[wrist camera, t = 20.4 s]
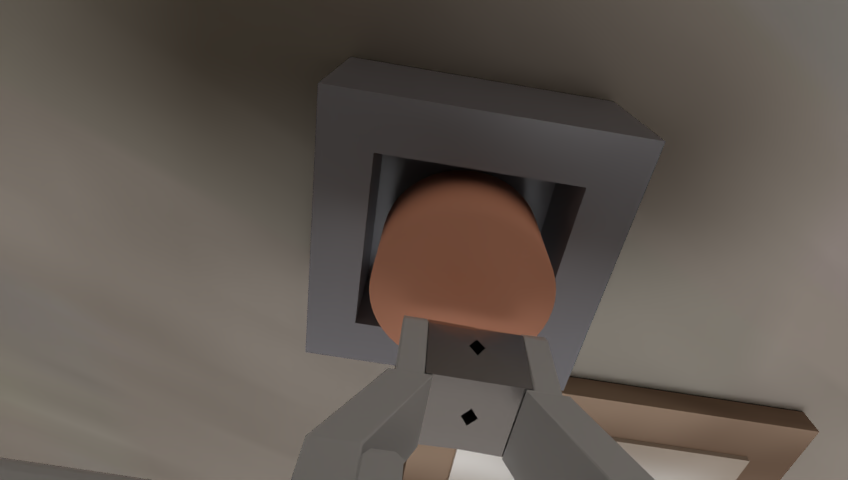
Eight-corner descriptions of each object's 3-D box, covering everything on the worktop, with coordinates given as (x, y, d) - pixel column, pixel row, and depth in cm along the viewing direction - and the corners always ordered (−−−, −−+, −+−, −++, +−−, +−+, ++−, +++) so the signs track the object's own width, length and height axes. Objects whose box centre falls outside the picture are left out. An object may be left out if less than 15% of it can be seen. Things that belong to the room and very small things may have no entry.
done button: (392, 157, 13) (380, 197, 10) (557, 184, 13) (580, 230, 10) (374, 294, 15) (361, 352, 12) (516, 316, 15) (528, 377, 13)
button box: (350, 56, 14) (317, 82, 11) (613, 101, 15) (665, 141, 11) (333, 279, 18) (305, 352, 15) (542, 311, 18) (563, 390, 15)
